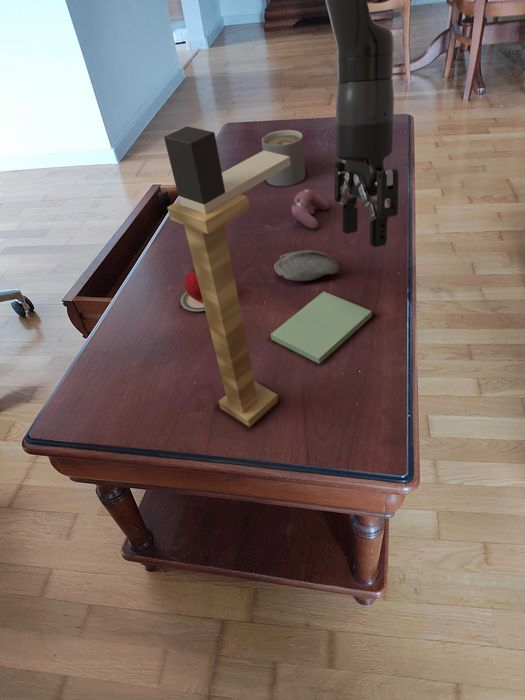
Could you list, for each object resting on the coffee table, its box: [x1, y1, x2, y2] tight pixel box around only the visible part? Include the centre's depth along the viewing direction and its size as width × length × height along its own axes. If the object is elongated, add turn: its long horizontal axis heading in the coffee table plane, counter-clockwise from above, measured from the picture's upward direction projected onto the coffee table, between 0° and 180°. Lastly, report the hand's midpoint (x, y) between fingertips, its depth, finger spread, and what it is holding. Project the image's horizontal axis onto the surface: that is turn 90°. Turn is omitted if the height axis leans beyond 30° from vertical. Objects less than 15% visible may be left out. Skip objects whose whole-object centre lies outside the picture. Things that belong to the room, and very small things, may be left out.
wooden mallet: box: [163, 125, 291, 214], centre depth 53 cm, size 4×13×7 cm, turn 137°
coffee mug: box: [261, 129, 306, 187], centre depth 128 cm, size 13×10×10 cm
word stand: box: [167, 193, 279, 428], centre depth 63 cm, size 6×6×32 cm
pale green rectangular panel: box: [270, 291, 373, 365], centre depth 84 cm, size 10×14×1 cm
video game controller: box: [291, 188, 329, 230], centre depth 111 cm, size 10×5×7 cm, turn 161°
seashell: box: [273, 249, 340, 282], centre depth 95 cm, size 12×8×5 cm
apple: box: [180, 268, 205, 312], centre depth 92 cm, size 8×8×6 cm
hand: (363, 238), depth 76 cm, fingers open, 8 cm apart
